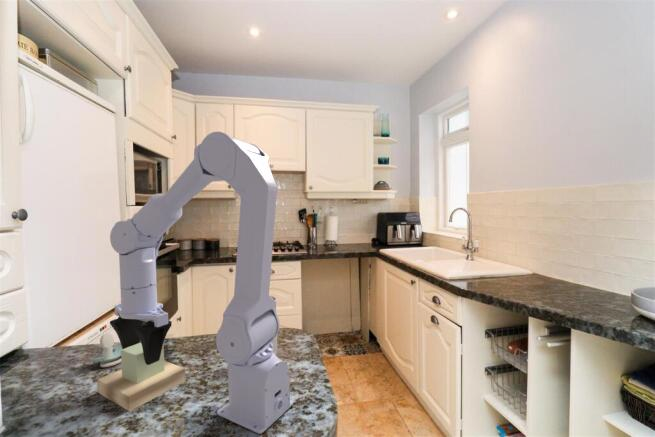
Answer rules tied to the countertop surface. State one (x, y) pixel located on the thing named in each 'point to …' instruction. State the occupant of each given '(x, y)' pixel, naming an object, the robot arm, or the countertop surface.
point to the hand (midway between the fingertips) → (141, 358)
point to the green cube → (139, 364)
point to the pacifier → (109, 351)
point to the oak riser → (140, 386)
